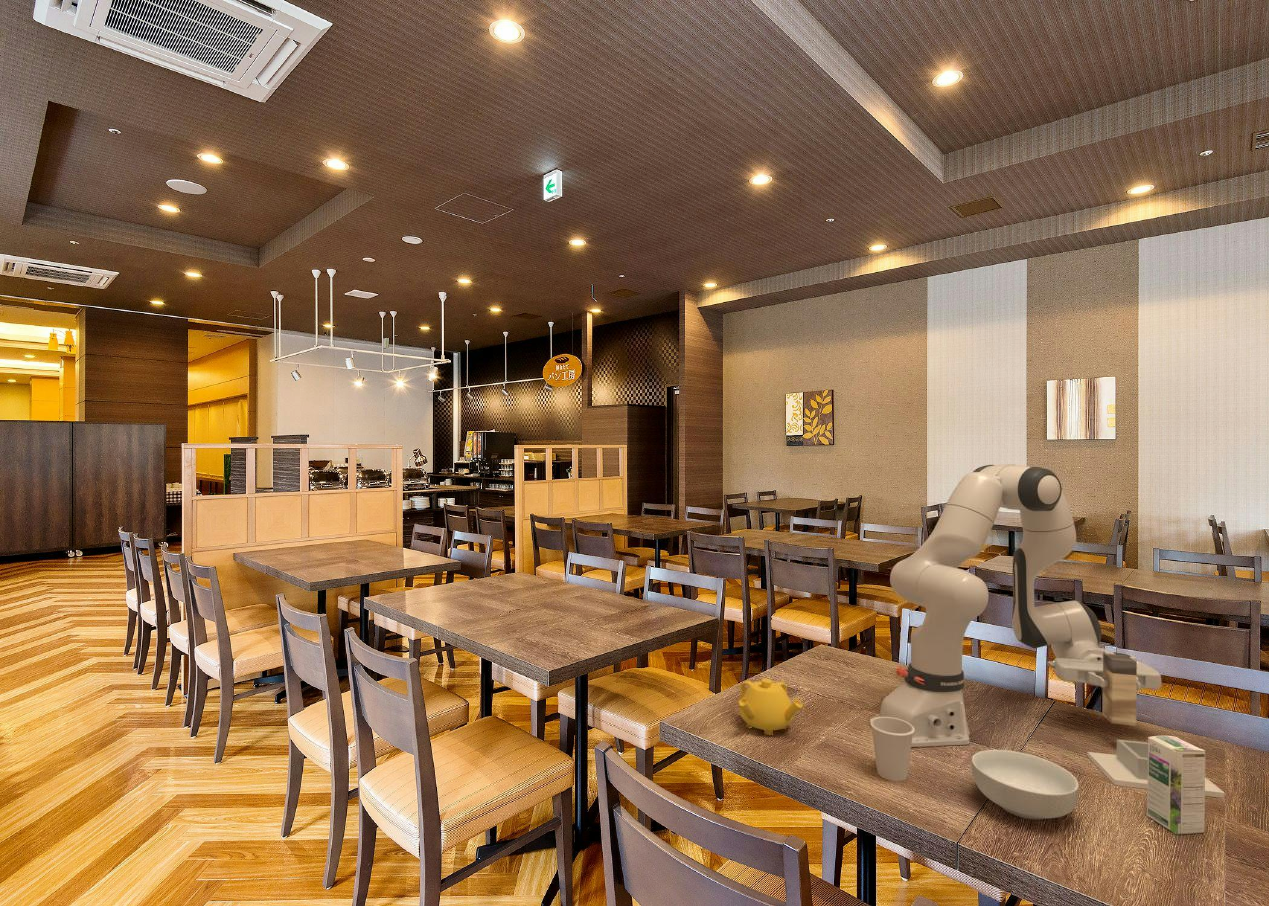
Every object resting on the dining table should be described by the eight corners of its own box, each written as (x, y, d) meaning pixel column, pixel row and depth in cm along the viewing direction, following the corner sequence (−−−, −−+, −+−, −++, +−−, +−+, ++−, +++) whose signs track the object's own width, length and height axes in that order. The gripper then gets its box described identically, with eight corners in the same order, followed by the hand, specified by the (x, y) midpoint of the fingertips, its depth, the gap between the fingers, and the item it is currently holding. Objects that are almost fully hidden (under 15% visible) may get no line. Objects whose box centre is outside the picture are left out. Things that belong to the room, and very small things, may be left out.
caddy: (1224, 798, 118) (1224, 772, 118) (1114, 785, 123) (1114, 759, 123) (1186, 767, 130) (1186, 743, 130) (1087, 756, 134) (1087, 733, 134)
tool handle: (1136, 725, 136) (1136, 661, 136) (1112, 723, 137) (1112, 659, 137) (1125, 717, 140) (1126, 655, 140) (1102, 715, 142) (1103, 653, 142)
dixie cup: (923, 780, 124) (924, 730, 124) (890, 788, 121) (890, 736, 121) (893, 761, 132) (893, 714, 132) (861, 767, 129) (861, 719, 129)
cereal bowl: (1102, 826, 109) (1102, 786, 109) (1029, 843, 105) (1029, 800, 105) (1018, 778, 126) (1018, 743, 126) (951, 790, 121) (951, 754, 121)
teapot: (739, 739, 142) (739, 690, 142) (733, 714, 155) (733, 670, 155) (803, 742, 141) (803, 692, 141) (791, 716, 155) (792, 671, 155)
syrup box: (1145, 816, 112) (1145, 735, 112) (1175, 814, 113) (1175, 734, 113) (1175, 835, 107) (1175, 750, 107) (1206, 833, 107) (1207, 749, 107)
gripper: (1044, 648, 154) (1067, 666, 141) (1141, 656, 149) (1175, 676, 135) (1044, 673, 154) (1067, 694, 141) (1141, 682, 149) (1175, 705, 135)
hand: (1121, 685), depth 138 cm, fingers closed on tool handle, 4 cm apart
